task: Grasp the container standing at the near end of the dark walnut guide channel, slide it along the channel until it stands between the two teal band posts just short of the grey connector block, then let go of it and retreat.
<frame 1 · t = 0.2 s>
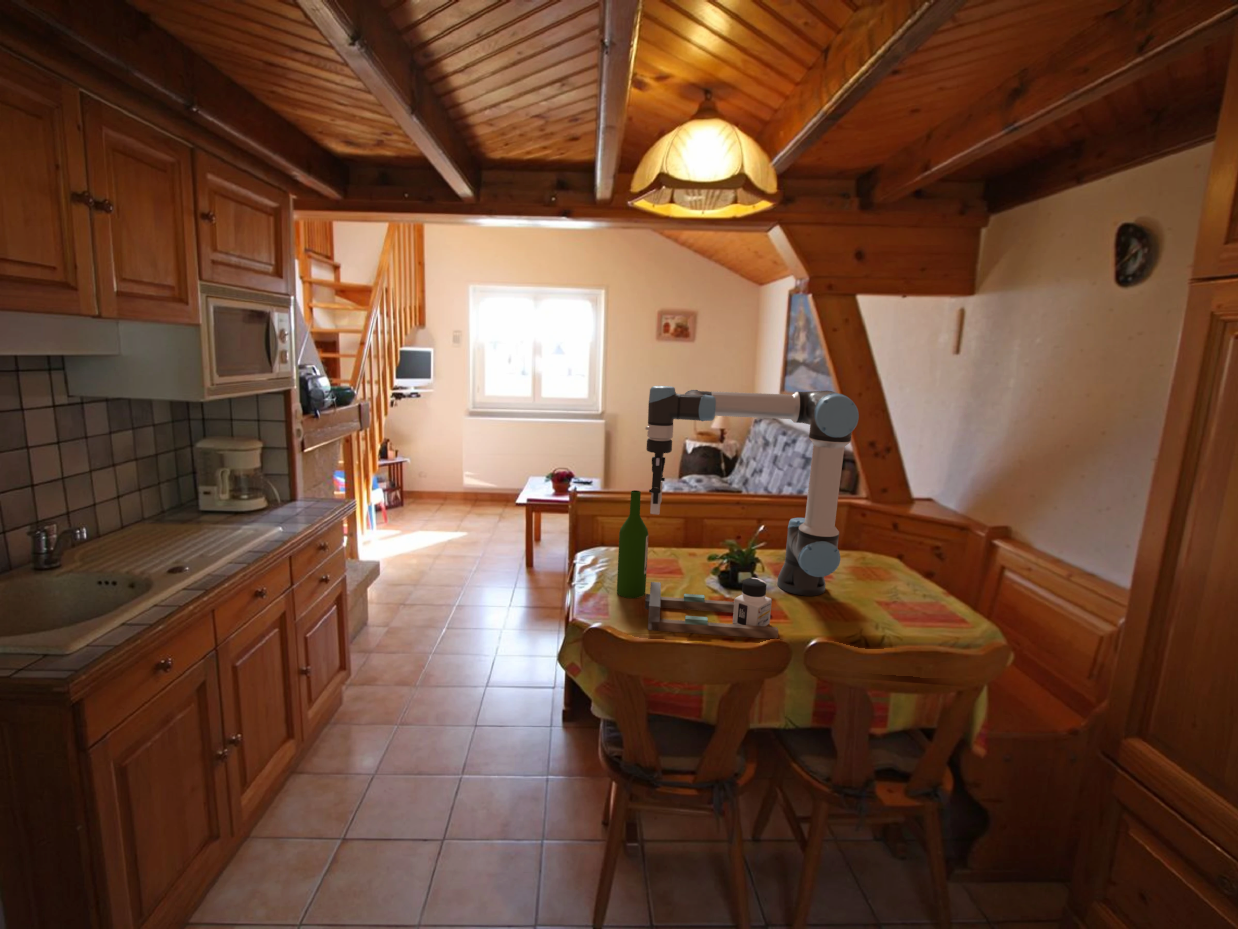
hand: (656, 507, 191), 28 cm above the table, fingers open, 13 cm apart
wine bottle: (631, 593, 197), on the table
container: (750, 624, 179), on the table
wooden frame: (712, 620, 179), on the table
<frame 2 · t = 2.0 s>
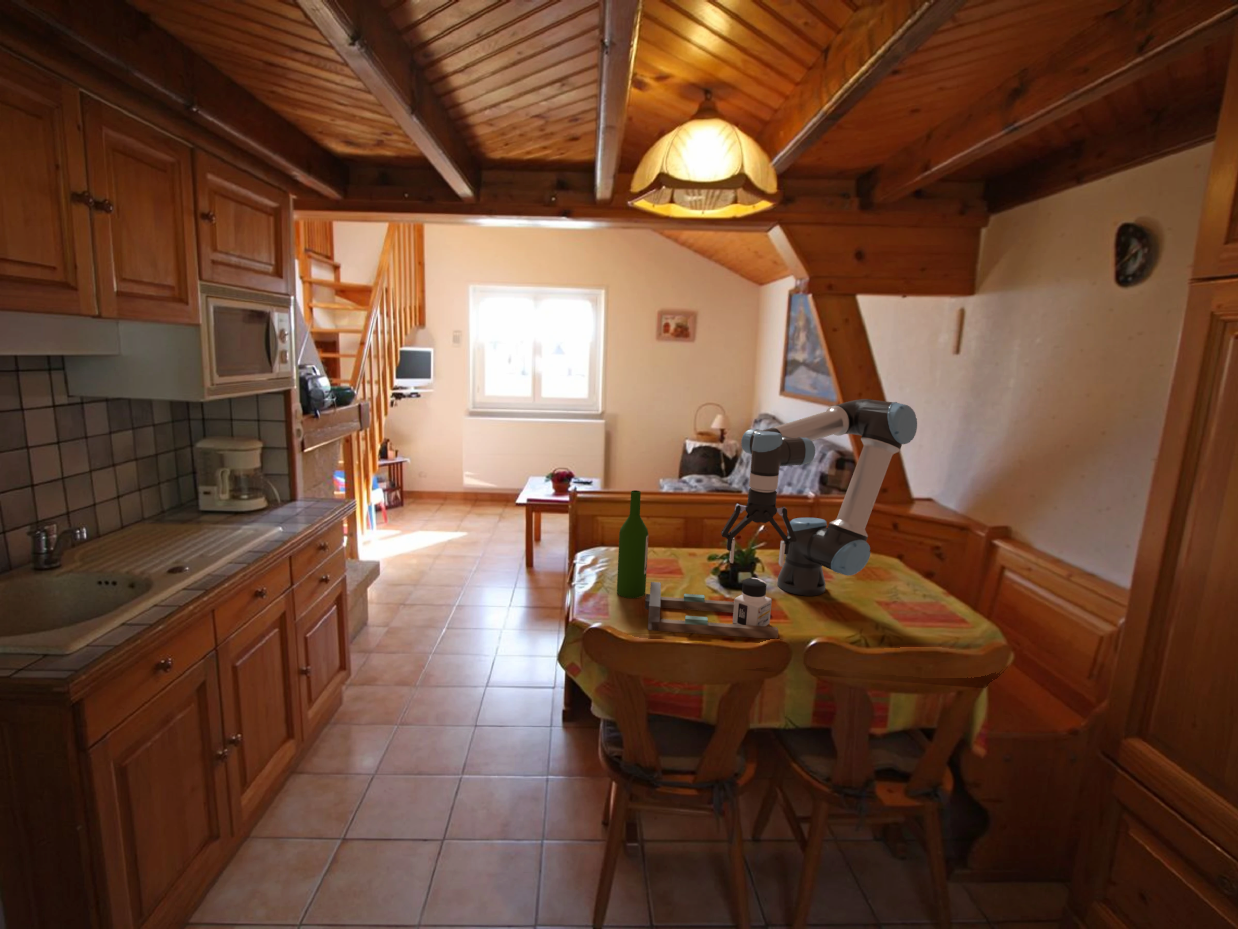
hand: (755, 563, 175), 18 cm above the table, fingers open, 13 cm apart
nothing on the table moved.
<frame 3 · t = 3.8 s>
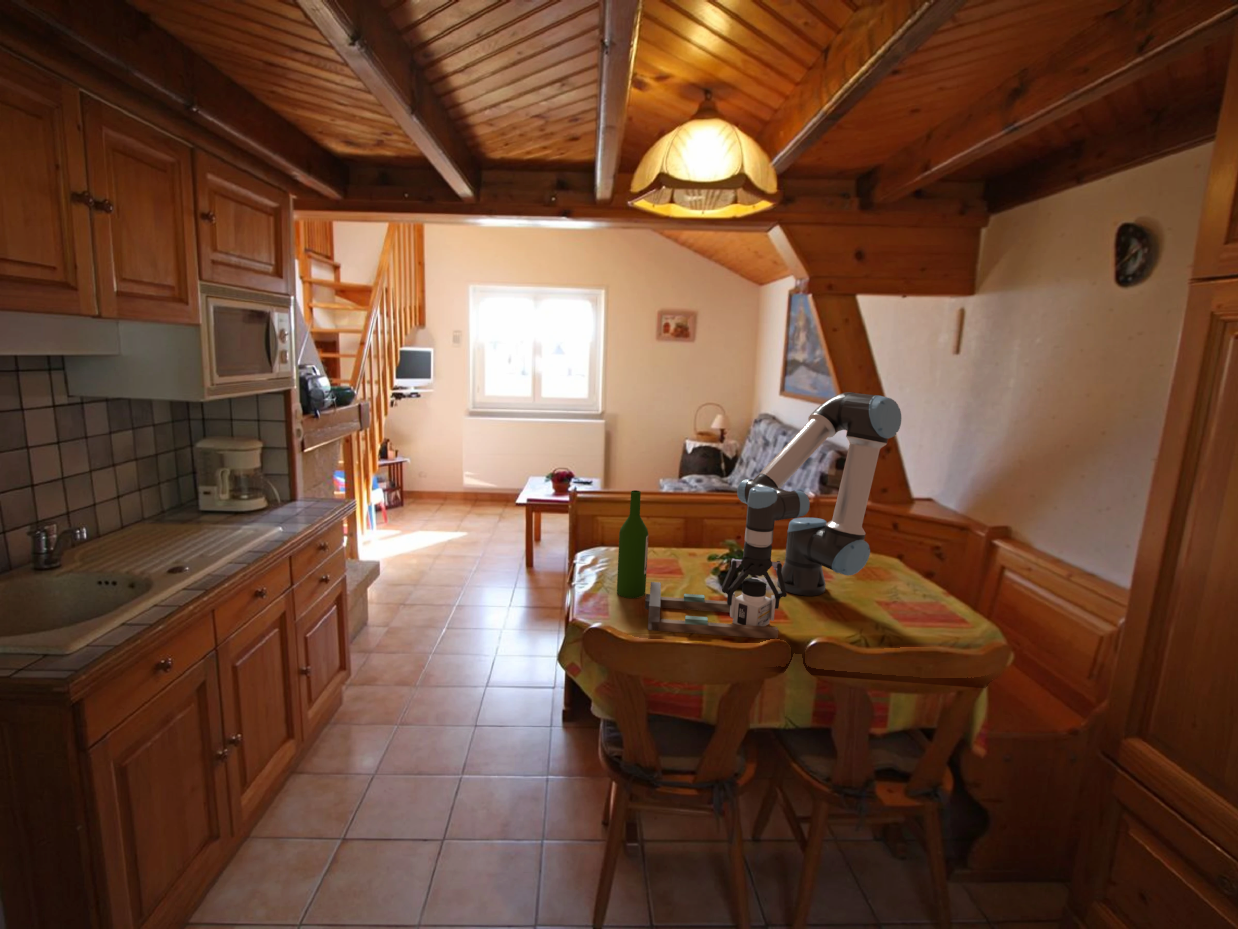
hand: (751, 617, 178), 2 cm above the table, fingers closed on container, 10 cm apart
container: (750, 624, 179), on the table, touching gripper
everything else where it was.
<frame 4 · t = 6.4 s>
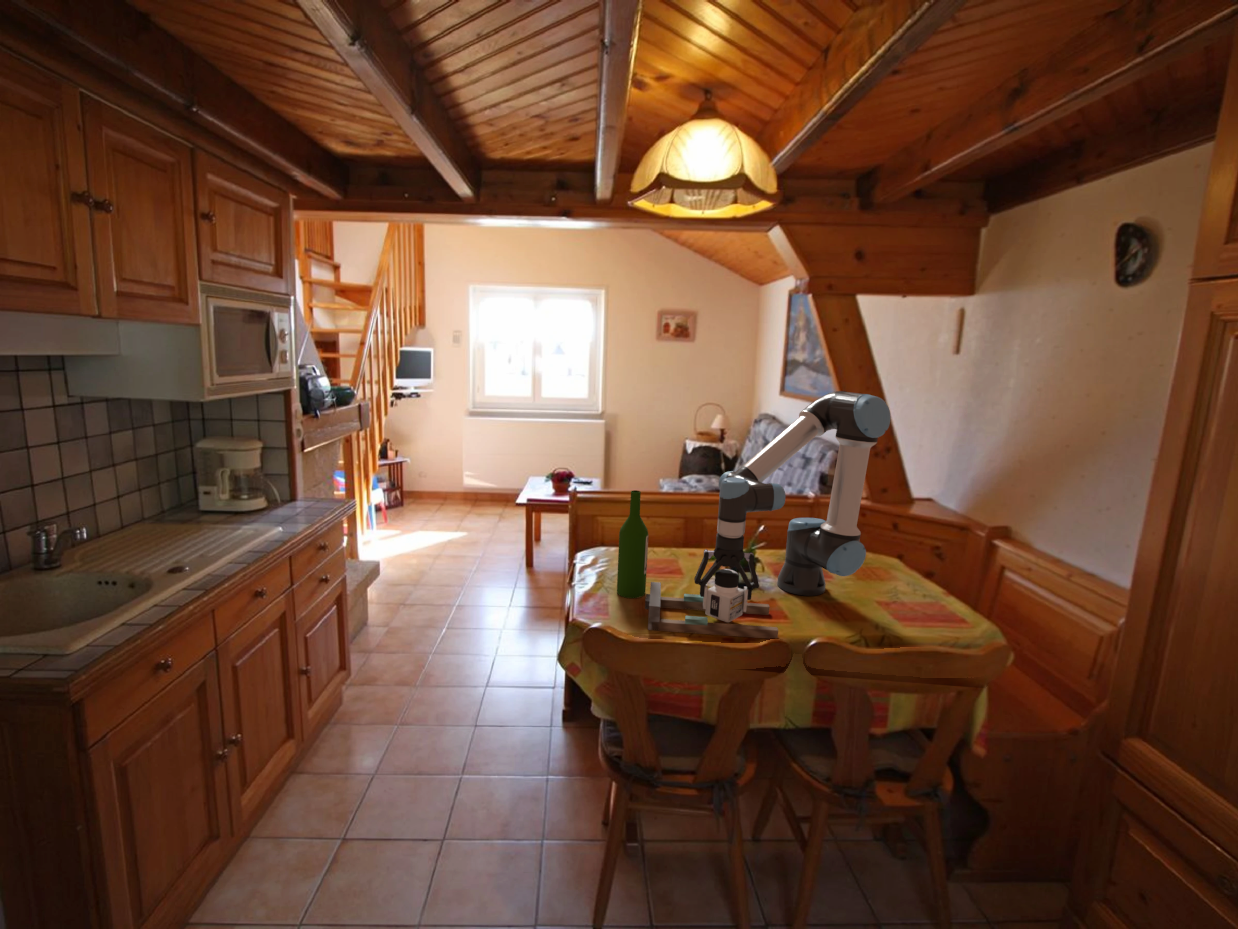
hand: (724, 608, 178), 4 cm above the table, fingers closed on container, 10 cm apart
container: (723, 615, 179), point 2 cm above the table, touching gripper
everything else where it was.
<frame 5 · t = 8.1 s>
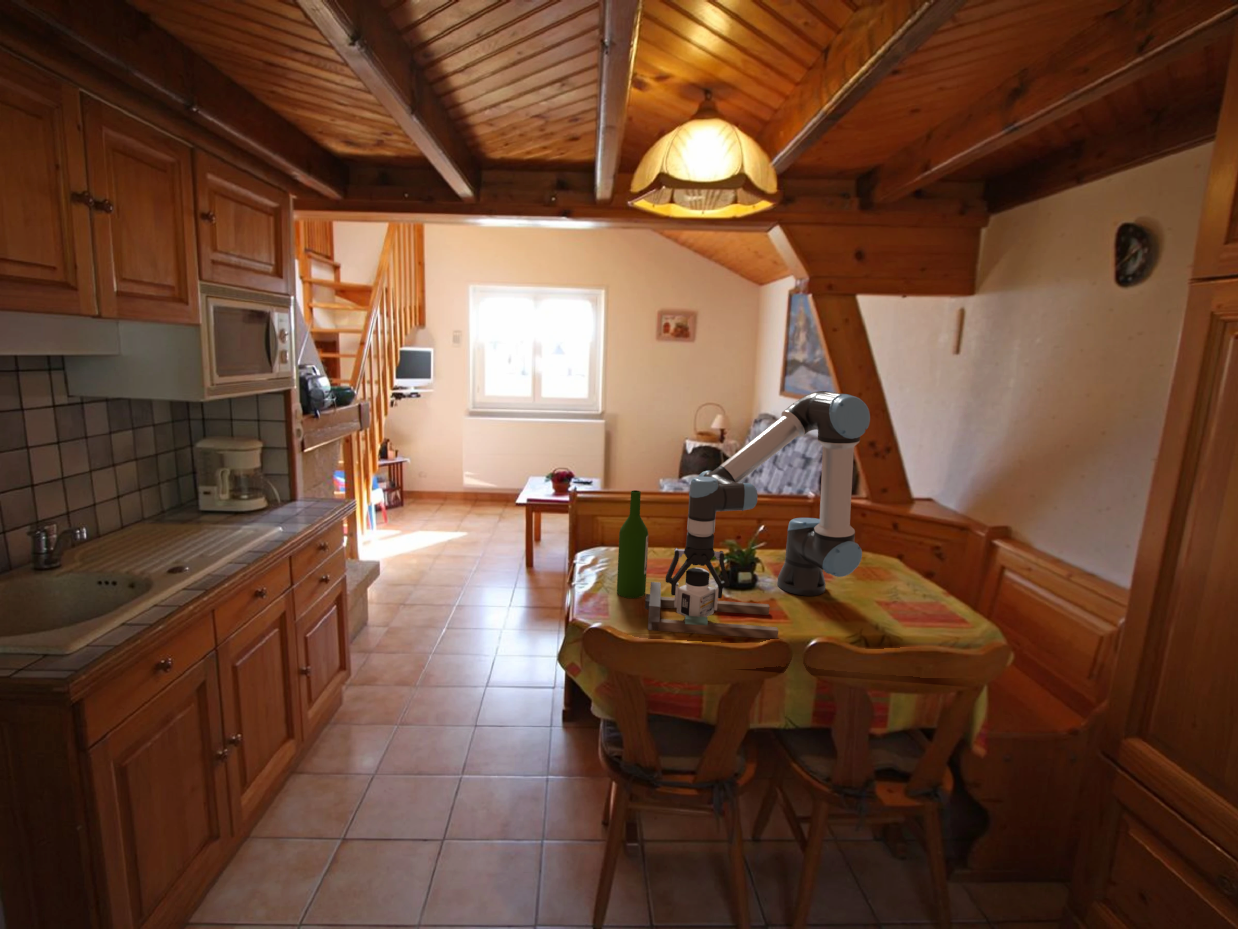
hand: (695, 607, 179), 4 cm above the table, fingers closed on container, 10 cm apart
container: (695, 614, 179), point 2 cm above the table, touching gripper
everything else where it was.
when the fingers open (2 cm above the table, at t = 9.2 s): container stays where it is, on the table.
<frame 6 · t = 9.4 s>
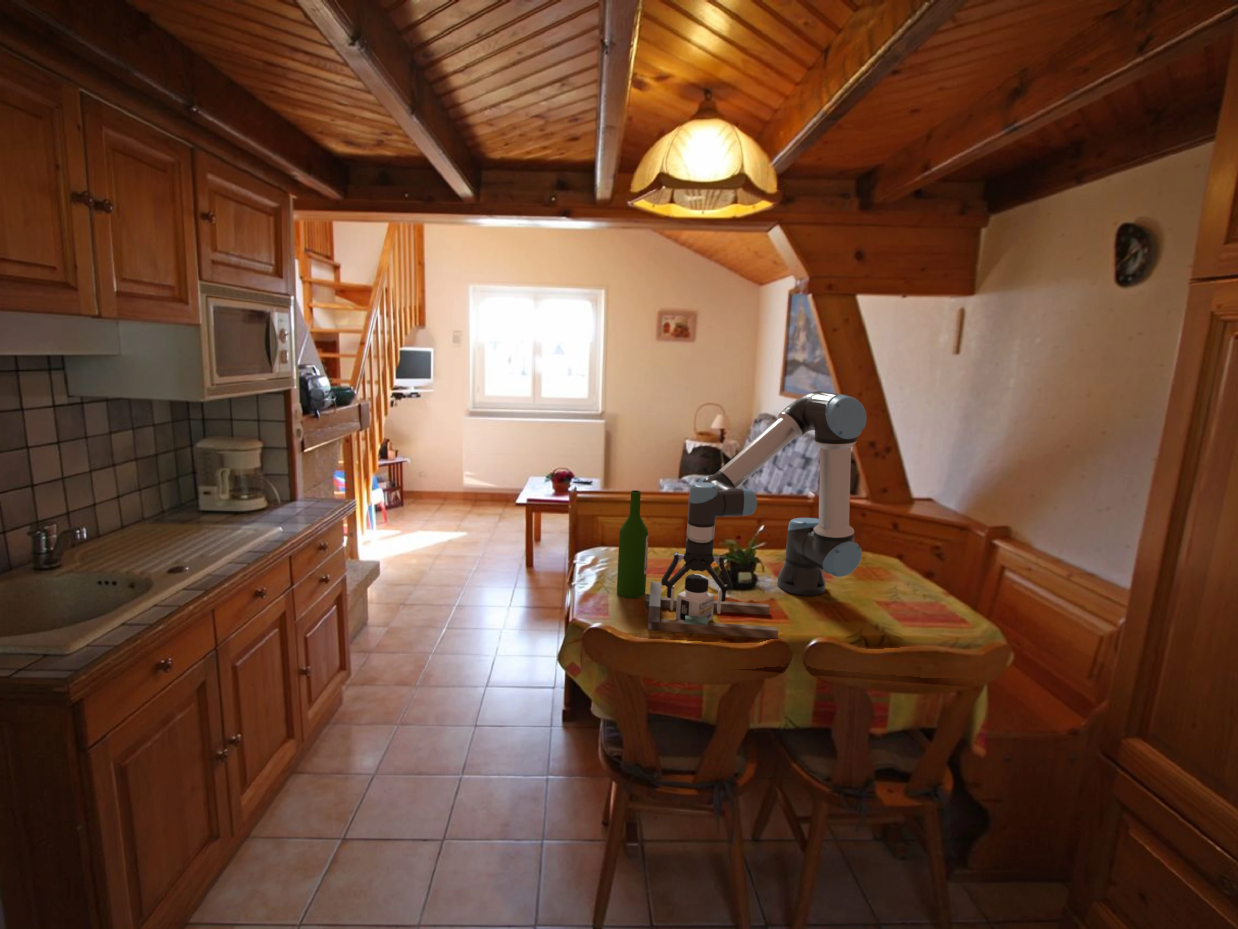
hand: (695, 610, 179), 3 cm above the table, fingers open, 13 cm apart
container: (694, 620, 180), on the table
everything else where it was.
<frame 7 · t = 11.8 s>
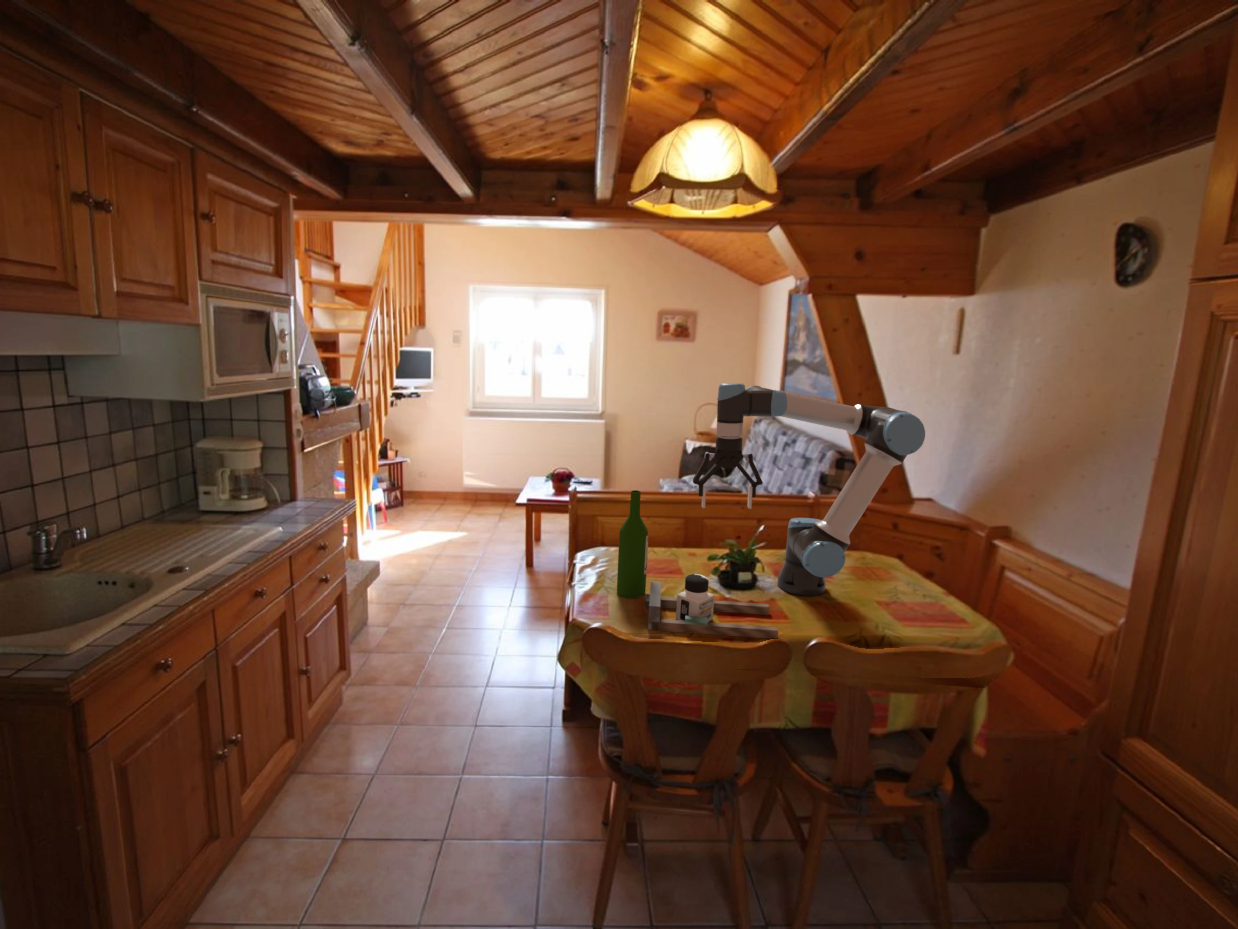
hand: (726, 507, 187), 30 cm above the table, fingers open, 13 cm apart
nothing on the table moved.
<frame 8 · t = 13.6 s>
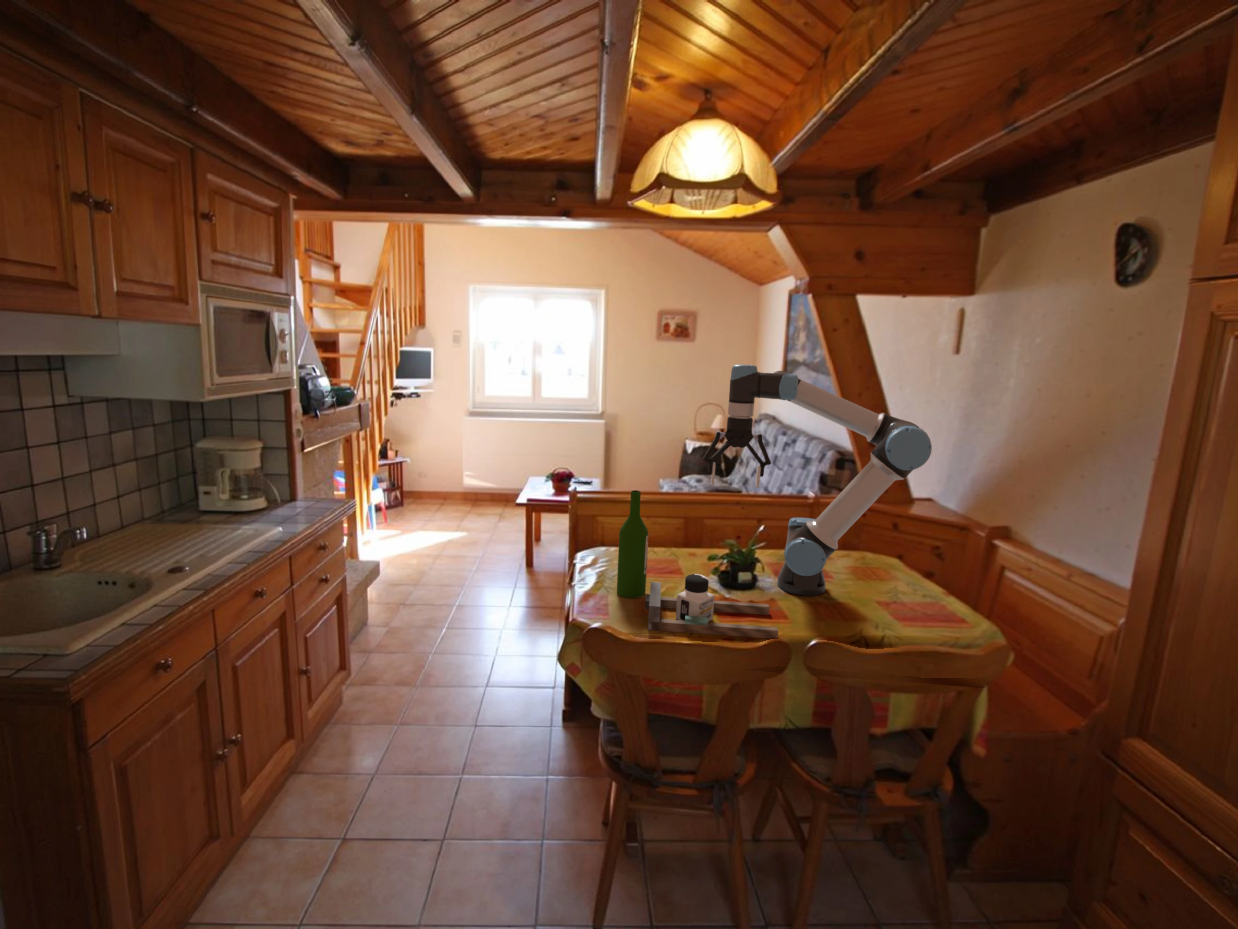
hand: (734, 485, 193), 35 cm above the table, fingers open, 13 cm apart
nothing on the table moved.
at the end: container inside the target area (0.1 cm from its centre), on the table; container tilted 0°; the gripper is holding nothing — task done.
